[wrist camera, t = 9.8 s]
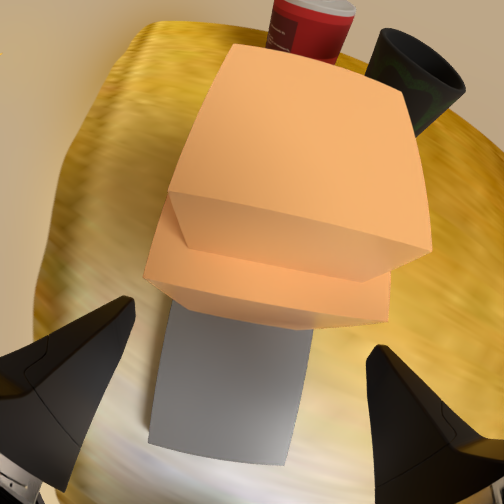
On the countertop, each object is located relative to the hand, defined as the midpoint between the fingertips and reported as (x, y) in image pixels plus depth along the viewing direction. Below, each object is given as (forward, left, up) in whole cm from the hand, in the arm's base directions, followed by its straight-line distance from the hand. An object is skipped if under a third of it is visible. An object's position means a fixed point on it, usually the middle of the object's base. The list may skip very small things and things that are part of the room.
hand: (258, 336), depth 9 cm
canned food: (+28, -1, -9) cm, 30 cm away
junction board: (-1, 0, -9) cm, 9 cm away
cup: (+19, -9, -9) cm, 23 cm away
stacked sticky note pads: (+4, 0, -7) cm, 8 cm away
